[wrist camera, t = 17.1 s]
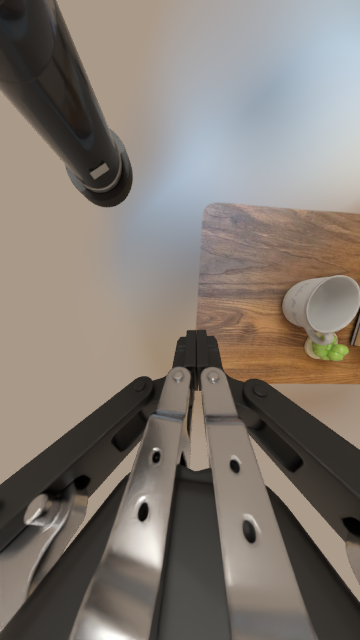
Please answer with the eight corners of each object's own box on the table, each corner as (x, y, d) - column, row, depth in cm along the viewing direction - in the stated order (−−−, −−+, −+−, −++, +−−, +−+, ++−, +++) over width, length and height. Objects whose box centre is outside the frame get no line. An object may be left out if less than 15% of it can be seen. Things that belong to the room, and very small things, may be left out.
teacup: (278, 279, 30) (313, 275, 23) (323, 278, 31) (374, 274, 23) (269, 336, 34) (298, 350, 26) (311, 334, 34) (352, 348, 26)
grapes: (299, 341, 34) (321, 350, 29) (327, 322, 33) (356, 329, 28) (311, 363, 36) (335, 375, 30) (339, 346, 35) (368, 356, 30)
